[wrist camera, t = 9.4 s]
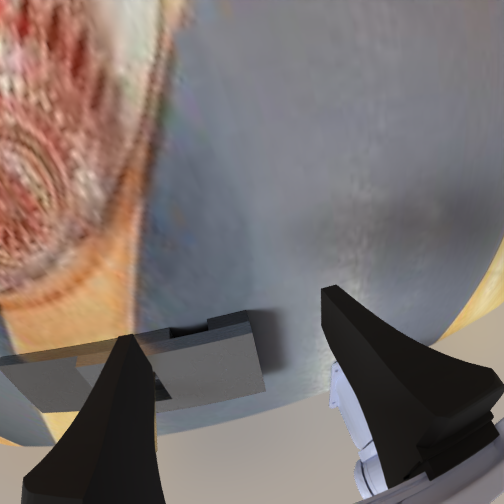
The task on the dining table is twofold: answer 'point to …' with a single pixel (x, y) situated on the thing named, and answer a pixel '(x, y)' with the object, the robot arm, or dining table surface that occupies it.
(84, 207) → the dining table surface
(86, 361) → the link
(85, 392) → the link
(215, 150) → the dining table surface
